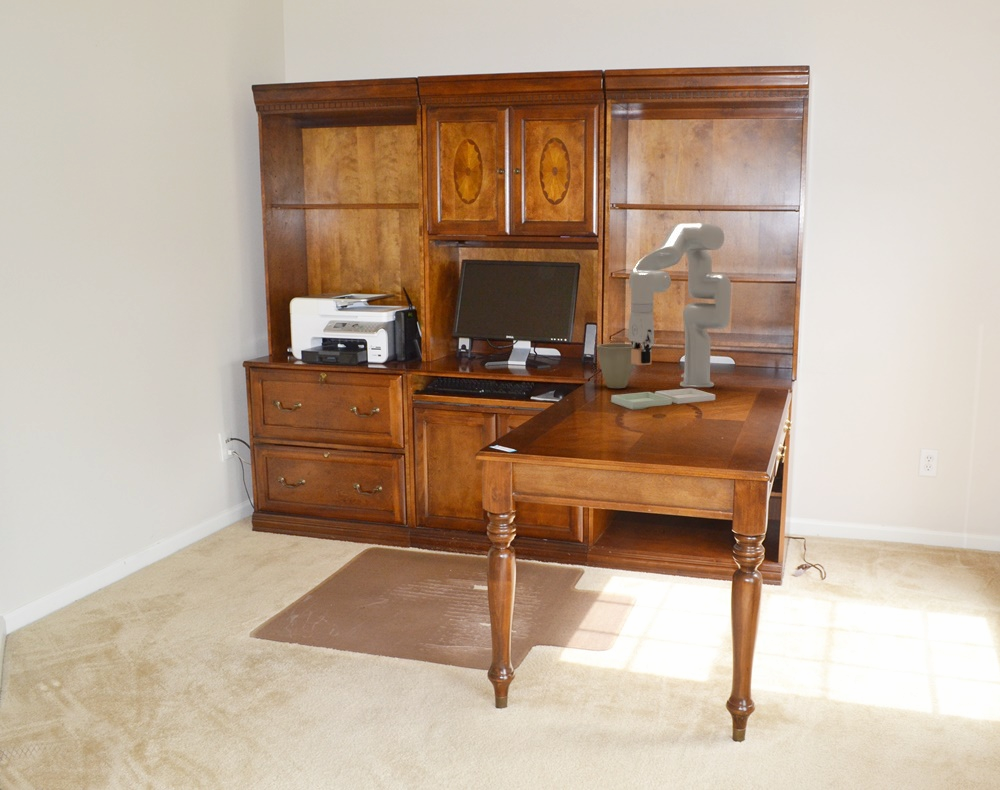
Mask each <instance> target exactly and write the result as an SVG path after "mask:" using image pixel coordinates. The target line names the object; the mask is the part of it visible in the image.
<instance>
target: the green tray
mask: <svg viewBox="0 0 1000 790" xmlns="http://www.w3.org/2000/svg"><path fill="white" fill-rule="evenodd" d="M610 399H611V403H612V404H615V405H619V406H621V407H623V408H627V409H630V410H643V409H644V410H645V409H649V408H650V407H658V406H659V407H661V406H667V405H668V406H670V405H672V404H673V402H672V399H671V398H667V397H664V396H661V395H657V394H655V392H651V391H643V392H635V393H634V392H633V393H625V394H624V393H622V394H611V397H610Z"/></svg>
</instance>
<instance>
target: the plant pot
mask: <svg viewBox="0 0 1000 790" xmlns="http://www.w3.org/2000/svg"><path fill="white" fill-rule="evenodd" d="M596 348H597V354H598V361H599V365H600V369H601V370H600V371H601V373H602V376H603V377H602V378H603V380H604V382H605V385H606V388H609V389H625V388H627V386H628V384H629V381H630V378H631V376H632V372H633V367H634V364H631V349H632V344H631V343H619V342H617V343H616V342H615V343H603V344H602V343H601V344H597V345H596Z"/></svg>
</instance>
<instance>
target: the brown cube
mask: <svg viewBox="0 0 1000 790" xmlns="http://www.w3.org/2000/svg"><path fill="white" fill-rule="evenodd" d="M641 352H643V350H642V347H641V348H639V349H631V364H633V365H636V366H646V365H647V366H648V365H652V362H653V361H652V358H653V357H652V353H653V351H652V349H651V351H650V363H641Z"/></svg>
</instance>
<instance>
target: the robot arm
mask: <svg viewBox="0 0 1000 790" xmlns="http://www.w3.org/2000/svg"><path fill="white" fill-rule="evenodd" d="M724 242H725V234H724V231H723V229H722V228H721V227H720V226H718V225H713V224H709V223H705V222H680V223H679V222H678V223H676V224H675V225H673V226H672V227H671V229H670V230H669V232H668V234H667V235H666V237H665V238H664V239H663V242H661V244H660V246H659V248H657V249H655V250H653V251H651V252H649V253H648V254H646V255H645V256H643V257H641V259H640V260H638V261H637V263H636V264H635V265H634V267H633V268H632V270H631V272H630V274H629V278H628V285H629V289H630V314H629V318H628V319H629V320H628V329H627V330H628V333H627V335H628V336H627V338H628V341H629V342H630V344H632V349H639V348H642V350H643V352H641V363H650V351H651V350H652V349H653V346H654V344H655V324H654V323H655V321H654V315H653V314H654V293H658V294H659V293H665V292H666V291H668V290H669V288H670V287H671V283H672V279H671V277H670V274H669V273H668V272H666V271H664V269H667V268H671V267H673V266H675V265H677V264H679V263H680V261H681V260H682V258H683V256H684V255H686V258H687V261H688V271H687V273H688V275H687V291H688V295H689V296H690V298H691V299H692V298H693V299H696V300H713V301H714V303H713V302H691V303H688V304H686V305H685V307H684V308H683V310H682V320H683V327H684V368H683V369H684V372H683V373H682V374H681V375H680V377H681V378H683V380H682V381H680V383H679V386H680V387H683V388H712V387H714V385H715V384H714V382H713V381H711V380H710V379H711V342H712V340H711V337H710V335H709V332H708V331H707V329H710V330H724V329H725V328H727V327H728V325H729V324H730V319H731V306H732V305H731V303H732V283H731V280H730V278H729V277H728V275H726V274H724V273H713V272H712V271H713V268H712V266H713V261H712V257H711V255H710V253H709V251H717V250H719V249H721V247H722V246H723V245H724Z"/></svg>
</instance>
